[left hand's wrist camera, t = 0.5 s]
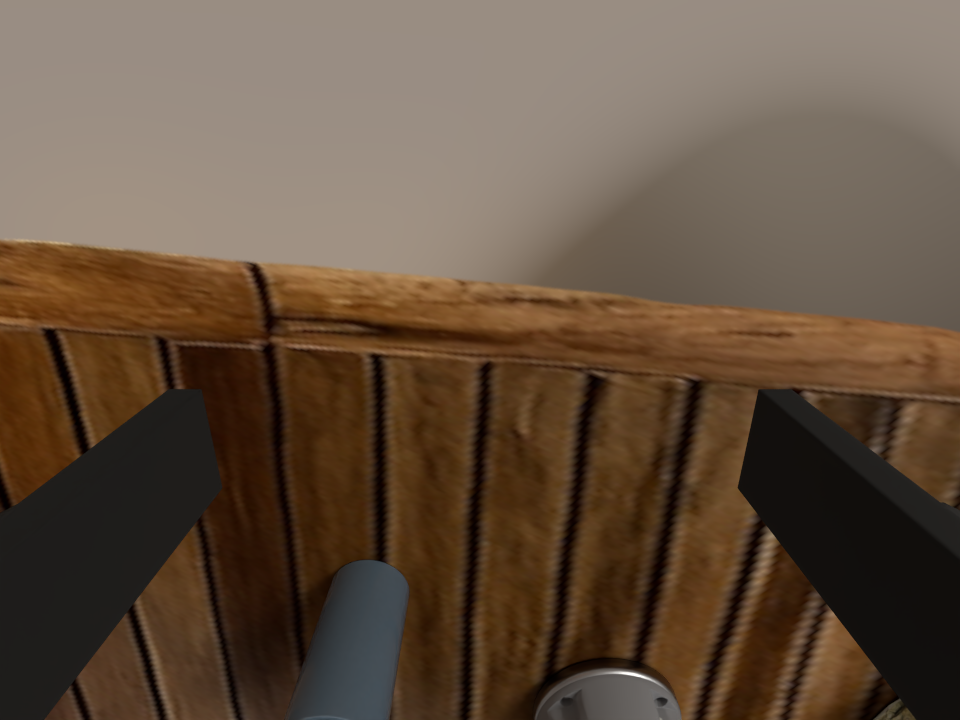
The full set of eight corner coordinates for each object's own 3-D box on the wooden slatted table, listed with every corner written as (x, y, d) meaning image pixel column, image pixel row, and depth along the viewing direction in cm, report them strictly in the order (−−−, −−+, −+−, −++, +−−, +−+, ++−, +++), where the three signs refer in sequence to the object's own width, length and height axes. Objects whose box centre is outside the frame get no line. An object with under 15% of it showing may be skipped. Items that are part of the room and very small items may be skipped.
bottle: (320, 603, 51) (229, 858, 33) (347, 548, 49) (266, 789, 30) (391, 629, 53) (343, 888, 34) (421, 576, 50) (387, 824, 32)
